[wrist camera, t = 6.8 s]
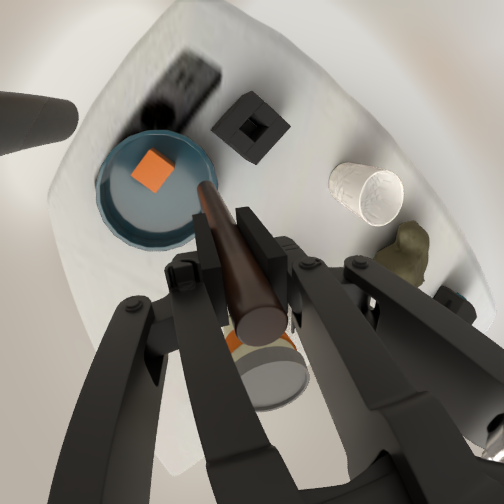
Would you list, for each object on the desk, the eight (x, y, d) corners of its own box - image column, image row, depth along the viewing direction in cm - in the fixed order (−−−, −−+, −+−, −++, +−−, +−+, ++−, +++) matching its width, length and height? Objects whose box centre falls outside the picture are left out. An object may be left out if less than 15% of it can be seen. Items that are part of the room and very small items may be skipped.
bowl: (83, 201, 36) (75, 208, 33) (148, 106, 34) (145, 105, 30) (169, 261, 43) (169, 272, 40) (238, 177, 41) (243, 181, 37)
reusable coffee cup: (285, 339, 56) (314, 396, 42) (224, 359, 54) (240, 421, 41) (275, 289, 50) (307, 347, 37) (204, 311, 49) (216, 377, 35)
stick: (192, 191, 27) (223, 335, 9) (204, 176, 26) (260, 295, 9) (207, 202, 27) (264, 354, 10) (219, 187, 27) (299, 319, 9)
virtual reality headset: (459, 300, 69) (493, 325, 56) (415, 360, 73) (445, 390, 60) (438, 276, 62) (481, 304, 48) (387, 348, 66) (421, 385, 52)
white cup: (371, 191, 46) (409, 208, 38) (335, 214, 47) (369, 236, 38) (356, 150, 43) (395, 160, 34) (317, 173, 43) (351, 187, 34)
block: (135, 170, 36) (130, 175, 33) (153, 147, 36) (149, 149, 32) (157, 187, 38) (155, 193, 34) (175, 164, 37) (175, 168, 34)
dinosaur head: (442, 221, 43) (433, 299, 52) (403, 207, 51) (402, 281, 60) (381, 261, 39) (377, 345, 47) (339, 240, 47) (345, 320, 55)
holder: (210, 130, 37) (214, 130, 32) (242, 95, 36) (252, 90, 30) (246, 159, 40) (256, 165, 34) (276, 125, 39) (291, 126, 33)
